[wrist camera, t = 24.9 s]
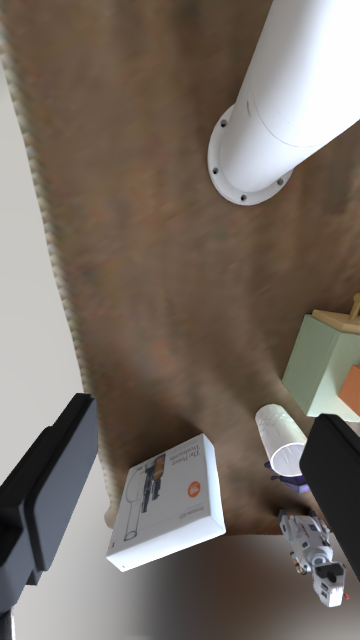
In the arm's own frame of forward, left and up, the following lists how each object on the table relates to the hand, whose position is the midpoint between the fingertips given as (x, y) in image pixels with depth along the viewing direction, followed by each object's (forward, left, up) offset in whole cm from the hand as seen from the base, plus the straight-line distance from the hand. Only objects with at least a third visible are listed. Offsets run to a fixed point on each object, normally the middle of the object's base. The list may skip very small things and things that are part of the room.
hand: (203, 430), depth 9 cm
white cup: (+24, +22, -30) cm, 44 cm away
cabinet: (+8, +28, -30) cm, 42 cm away
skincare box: (+39, +2, -30) cm, 49 cm away
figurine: (+52, +37, -30) cm, 70 cm away
